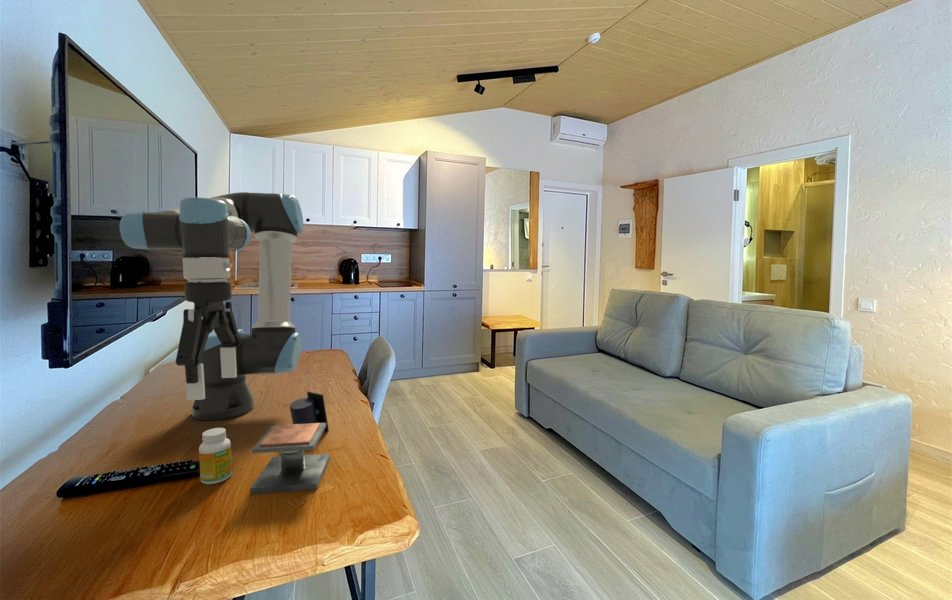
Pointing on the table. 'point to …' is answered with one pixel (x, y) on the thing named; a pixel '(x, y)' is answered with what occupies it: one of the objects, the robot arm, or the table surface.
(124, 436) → the table surface
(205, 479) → the supplement bottle
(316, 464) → the stand
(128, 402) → the table surface
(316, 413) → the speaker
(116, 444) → the table surface
